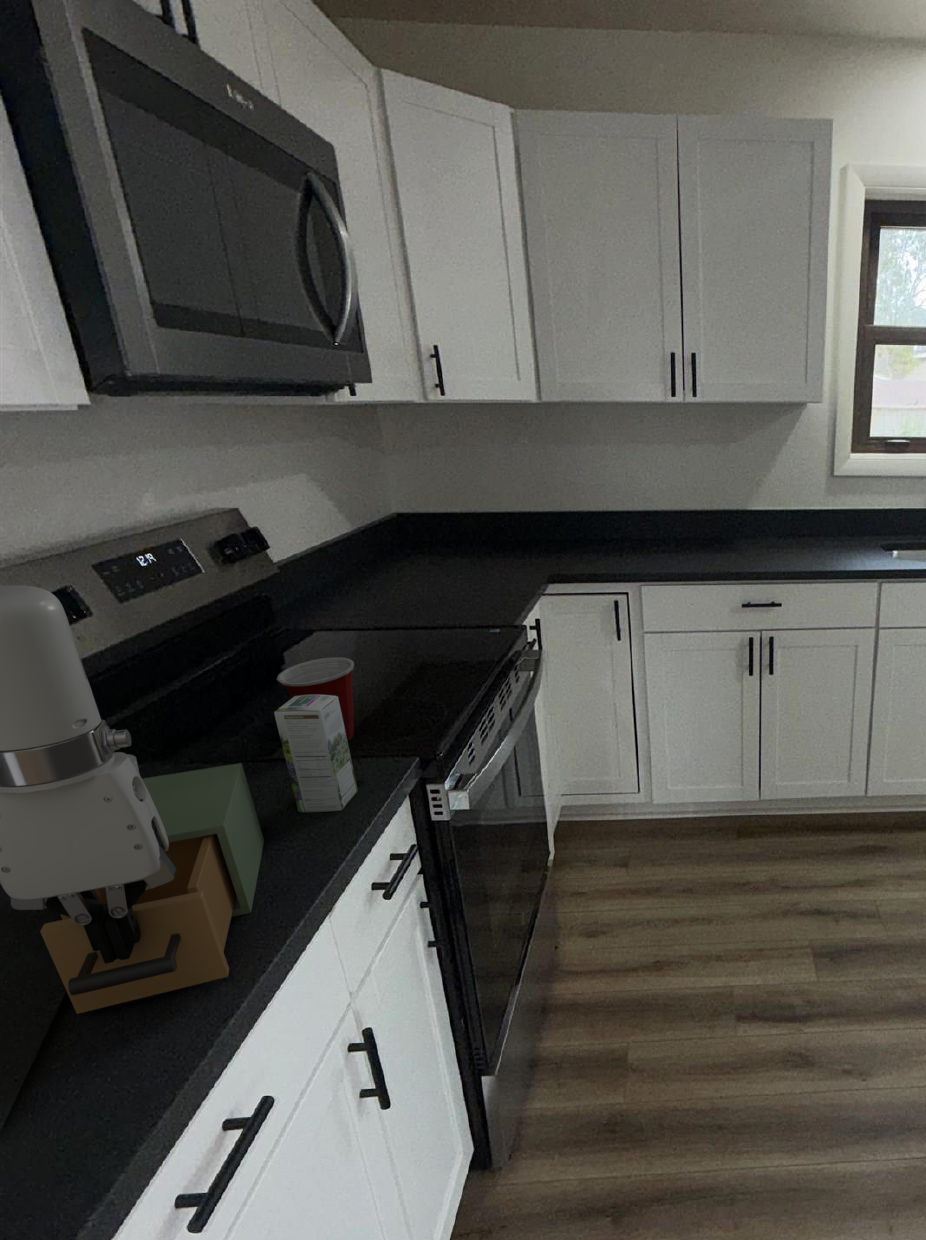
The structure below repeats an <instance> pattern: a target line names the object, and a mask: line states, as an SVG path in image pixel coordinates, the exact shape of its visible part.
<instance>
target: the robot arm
mask: <svg viewBox="0 0 926 1240" xmlns="http://www.w3.org/2000/svg"><path fill="white" fill-rule="evenodd" d="M76 643H77V642H76V640H75V637H74V634H73V632H72V629H71V626H70V623H69V619H68V616H67V614H66V612H65V609H64V606H63V604H62V603H61V601H60V600H59V598H58V597H57V596H56V595H54V594H53V593H52V592H50V591H49V590H47V589H44V588H41V587H37V586H36V587H35V586H30V585H19V584H18V585H14V584H13V585H0V885H1V887H2V889H3V891H4V892H5V893H6V895H7V896H9V898H10V906H11V908H12V909H14V910H16V911H37V910H38V911H39V910H45V909H47V910H50V911H52V912H55V913H57V914H60V915H61V914H62V915H65V916H68V917H70V918H71V919H72V920H73V922H74V923H75V924H77V925H83V926H84V929H85V931H86V934H87V936H88V939H89V941H90V944H91V946H92V949H93V950H94V951H99V950H100V953H101V955H102V958H103V960H104V963H105V964H107V963H111V962H114V960H116V959H120V960H125V959H129V958H130V955H131V953H132V950H133V947H134V945H135V943H138V942H139V941H140V938H141V932H140V928H139V925H138V922H137V920H136V917H135V914H134V911H133V908H132V906H133V904H134V903H135V902H136V901H137V900H138V899H139V897H140V896H141V895H142V894H143V893H144V891H146V890H149V889H153V888H156V887H158V886H161V885H163V884H166V883H169V882H171V881H172V880H173V879H174V877H175V874H176V867H175V866H174V865H173V863H172V862H171V860H170V859H169V858H168V856H167V855H166V853H165V851H168V847H169V842H168V837H167V834H166V831H165V828H164V826H163V823H162V821H161V818H160V816H159V814H158V811H157V809H156V807H155V805H154V802H153V800H152V798H151V796H150V794H149V792H148V790H147V788H146V786H145V784H144V782H143V780H142V779H143V778H142V776H141V774H140V775H139V773H140V772H139V773H138V771H137V769H136V768H135V766H134V765H133V763H132V762H131V760H130V759H129V757H128V756H127V754H128V753H125V752H122V751H118V750H120V749H121V748H127V747H131V746H132V736H131V734H130V731H129V730H128V729H120V730H119V729H118V730H117V729H115V728H113V729H111V728H110V726H108V725H107V721H106V719H102V717H101V715H100V711H99V708H98V706H97V703H96V699H95V697H94V694H93V690H92V688H91V685H90V681H89V678H88V676H87V674H86V671H85V667H84V664H83V661H82V659H81V656H80V652H79V649H78V647H77V644H76ZM115 751H116V752H115ZM99 888H105V890H106V897H107V903H105V904H103V903H102V902H100V898H99V897H98V895H97V894H96V892H95V890H94V889H99Z"/></svg>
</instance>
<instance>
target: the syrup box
mask: <svg viewBox="0 0 926 1240" xmlns="http://www.w3.org/2000/svg"><path fill="white" fill-rule="evenodd" d="M273 714H274V718H275V719H274V720H275V722H276V727H277V730H278V736H279V738H280V743H281V747H282V750H283V755H284V759H285V763H286V767H287V772H288V775H289V780H290V784H291V787H292V791H293V797H294V800H295V804H296V808H297V811H298V812H299V813H301V814H303V813H324V812H325V813H326V812H342V811H343V810H344V809H345V808H346V807H347V806H348V804H349V803H350V802H351V801H352V800H353V798H354V797H355V796H356V795H357V794H358V791H359V789H358V784H357V780H356V776H355V770H354V766H353V761H352V756H351V751H350V747H349V742H348V741H349V740H348V741H347V737H346V732H345V727H344V723H343V718H342V713H341V709H340V704H339V699H338V697H337V696H332V695H301V696H294V697H293V698H292V697H291V698H290V699H289V700H288V701H286V702H285V703H284V704H282V705H281V706H280V707H278V708H277V709H276V710H274V712H273Z"/></svg>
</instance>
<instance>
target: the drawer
mask: <svg viewBox="0 0 926 1240" xmlns="http://www.w3.org/2000/svg"><path fill="white" fill-rule="evenodd" d="M165 853H166V855H167V856H168V858H169V859H170V860H171V862H172V863H173V865H174V866H175V867H176V874H175V877H174V879H173V880H172V881H171V882H169V883H166V884H163V885H161V886H158V887H156V888H153V889H149V890H146V891H144V893H143V894H142V895H141V896H140V897H139V899H138V900H137V901H136V902H135V903H134V904H133V906H132V908H133V911H134V914H135V917H136V920H137V922H138V925H139V928H140V932H141V938H140V941H139V942H138V943H135V945H134V947H133V950H132V953H131V955H130V958H129V959H125V960H120V959H116V960H114V962H111V963H107V964H105V963H104V960H103V958H102V955H101V953H100V950H99V951H94V950H93V949H92V946H91V944H90V941H89V939H88V936H87V934H86V931H85V929H84V926H83V925H77V924H75V923H74V922H73V920H72V919H71V918H70V917H68V916H65V915H62V914H60V918H61V920H56V921H51V922H46V923H44V924H43V926H42V927H41V929H40V931H39V932H40V935H41V937H42V939H43V941H44V944H45V946H46V948H47V950H48V953H49V955H50V957H51V960H52V961H53V964H54V966H55V968H56V970H57V973H58V975H59V977H60V980H61V982H62V985H63V986H64V988H65V990H66V991H65V992H66V994H67V995H68V998H69V999H70V1002H71V1004H72V1007H73V1008H74V1011H75V1013H76V1014H77V1015H78V1014H83V1013H87V1012H91V1011H94V1010H99V1009H103V1008H107V1007H111V1006H115V1005H119V1004H124V1003H128V1002H131V1001H137V1000H139V999H143V998H144V999H145V998H148V997H152V996H155V995H156V996H157V995H160V994H165V993H168V992H172V991H177V990H180V989H184V988H189V987H192V986H196V985H200V984H204V983H209V982H213V981H216V980H221V979H225V978H228V977H229V973H230V967H229V964H228V961H227V958H226V955H225V947H226V943H227V939H228V935H229V929H230V925H231V921H232V917H231V916H232V912H233V907H234V903H235V898H236V893H235V890H234V886H233V883H232V880H231V877H230V874H229V871H228V868H227V864H226V861H225V858H224V855H223V852H222V849H221V846H220V842H219V839H218V836H217V834H213V835H207V836H202V837H196V838H191V839H186V840H180V841H175V842H170V843H169V847H168V851H165ZM94 890H95V892H96V894H97V895H98V897H99V898H100V902H102V903H103V904H105V903H107V897H106V890H105V888H99V889H94Z"/></svg>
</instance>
